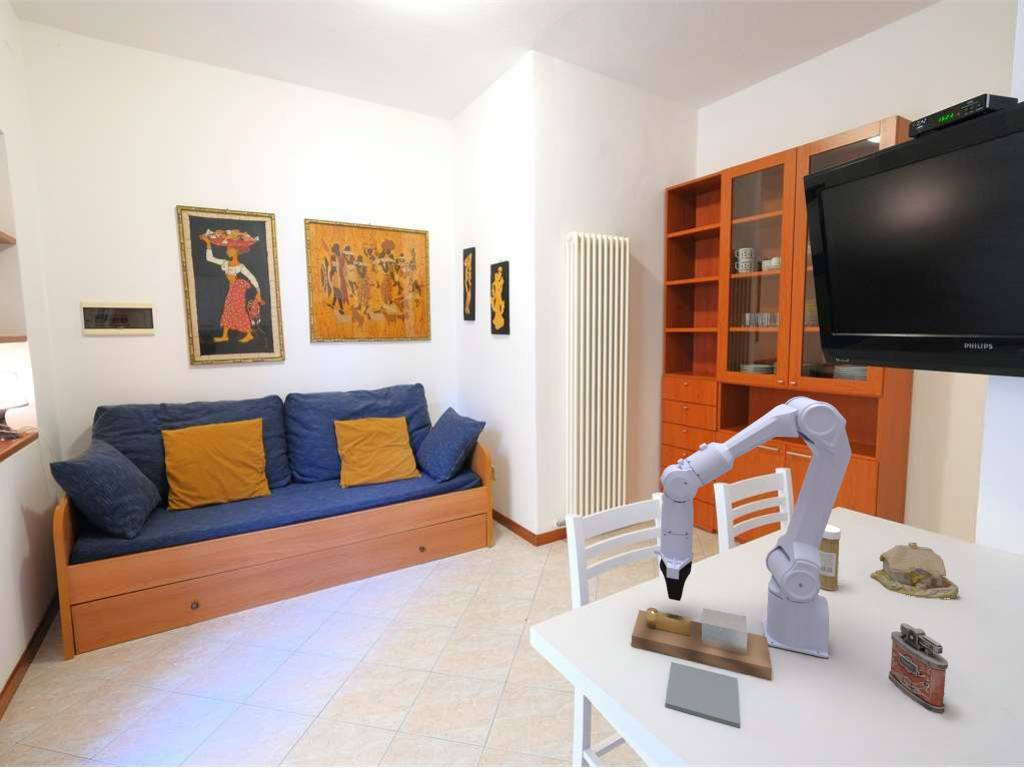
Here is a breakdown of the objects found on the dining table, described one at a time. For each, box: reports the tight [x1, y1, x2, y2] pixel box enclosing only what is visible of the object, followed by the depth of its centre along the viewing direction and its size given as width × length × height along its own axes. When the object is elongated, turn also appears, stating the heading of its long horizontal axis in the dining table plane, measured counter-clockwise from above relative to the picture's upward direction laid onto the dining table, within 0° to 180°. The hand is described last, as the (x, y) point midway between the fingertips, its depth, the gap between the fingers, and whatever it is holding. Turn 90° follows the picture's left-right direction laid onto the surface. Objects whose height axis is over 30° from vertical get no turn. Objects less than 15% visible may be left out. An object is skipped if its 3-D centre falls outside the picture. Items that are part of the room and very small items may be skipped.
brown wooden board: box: [631, 609, 773, 681], centre depth 84 cm, size 22×9×2 cm, turn 66°
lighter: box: [888, 622, 949, 714], centre depth 72 cm, size 8×3×10 cm, turn 5°
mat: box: [664, 661, 741, 729], centre depth 73 cm, size 10×10×1 cm
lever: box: [646, 607, 692, 636], centre depth 86 cm, size 8×2×3 cm, turn 66°
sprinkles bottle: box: [819, 524, 842, 592], centre depth 105 cm, size 5×5×14 cm
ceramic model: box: [870, 541, 959, 600], centre depth 105 cm, size 14×11×10 cm
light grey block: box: [701, 607, 749, 655], centre depth 82 cm, size 7×5×4 cm
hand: (674, 598), depth 91 cm, fingers closed
